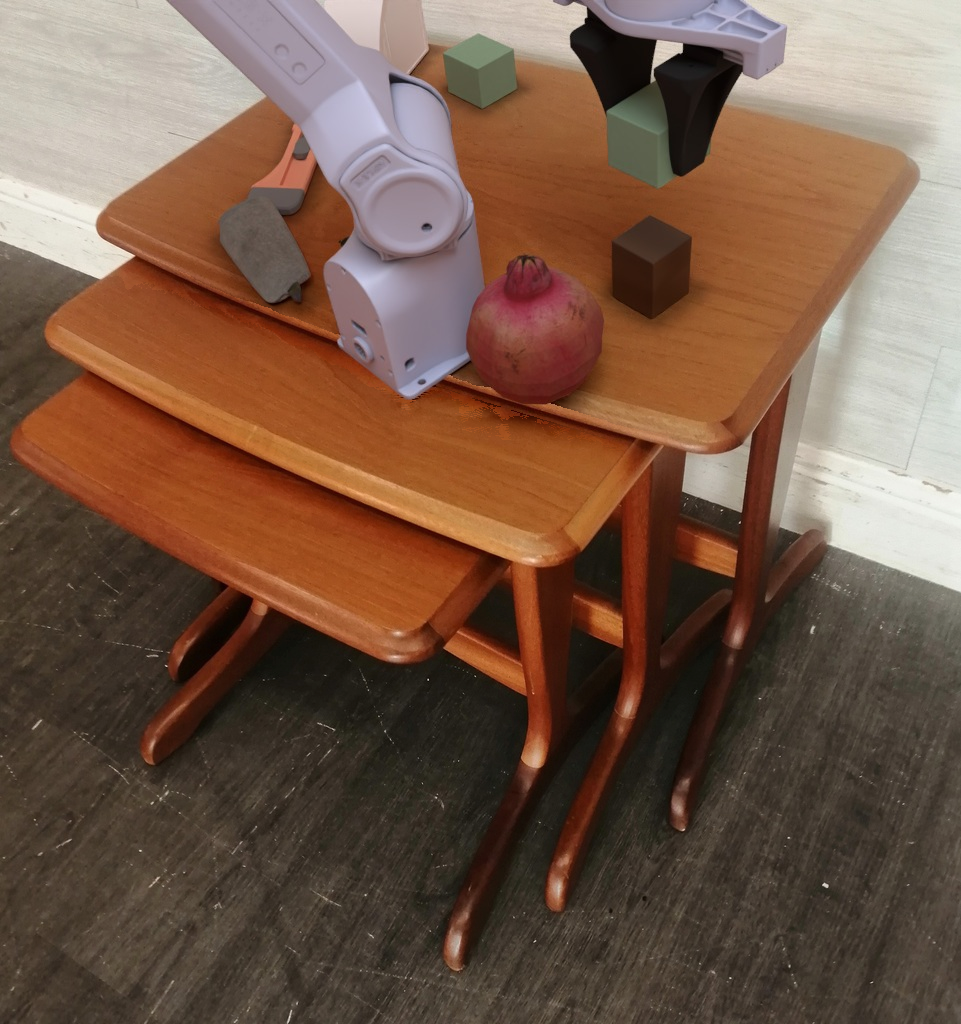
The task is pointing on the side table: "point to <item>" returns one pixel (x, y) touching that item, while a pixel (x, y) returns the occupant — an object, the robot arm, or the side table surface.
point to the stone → (263, 247)
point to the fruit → (534, 332)
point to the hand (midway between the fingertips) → (659, 153)
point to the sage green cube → (641, 137)
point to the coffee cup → (360, 20)
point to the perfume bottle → (405, 34)
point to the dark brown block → (651, 266)
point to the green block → (480, 70)
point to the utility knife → (288, 176)
